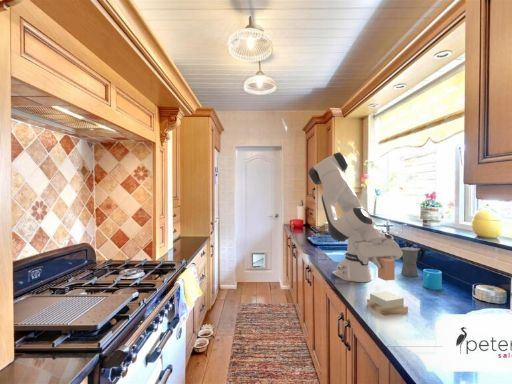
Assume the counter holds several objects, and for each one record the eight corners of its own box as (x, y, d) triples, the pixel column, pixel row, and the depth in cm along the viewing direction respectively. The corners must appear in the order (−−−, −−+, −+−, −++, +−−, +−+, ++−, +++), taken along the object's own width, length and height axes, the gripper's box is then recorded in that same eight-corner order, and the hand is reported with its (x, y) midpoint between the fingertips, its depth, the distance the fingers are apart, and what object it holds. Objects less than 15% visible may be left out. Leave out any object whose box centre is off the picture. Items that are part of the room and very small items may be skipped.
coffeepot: (402, 276, 170) (402, 245, 170) (394, 272, 179) (394, 242, 179) (429, 276, 170) (429, 245, 170) (420, 272, 179) (420, 242, 179)
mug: (426, 283, 158) (426, 268, 158) (444, 287, 151) (444, 271, 151) (417, 288, 150) (417, 271, 150) (435, 292, 144) (435, 275, 144)
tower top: (370, 300, 125) (370, 293, 125) (386, 298, 128) (386, 291, 128) (386, 308, 117) (386, 300, 117) (403, 305, 120) (403, 298, 120)
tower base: (367, 306, 127) (367, 299, 127) (389, 304, 129) (389, 297, 129) (384, 317, 116) (384, 309, 116) (407, 314, 119) (407, 306, 119)
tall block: (377, 277, 124) (378, 258, 124) (387, 276, 125) (387, 257, 125) (384, 280, 120) (385, 260, 120) (394, 279, 121) (394, 260, 121)
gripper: (354, 236, 127) (368, 265, 117) (395, 235, 132) (411, 262, 122) (348, 245, 131) (361, 273, 122) (388, 243, 136) (403, 270, 127)
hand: (387, 267), depth 122 cm, fingers closed on tall block, 4 cm apart
